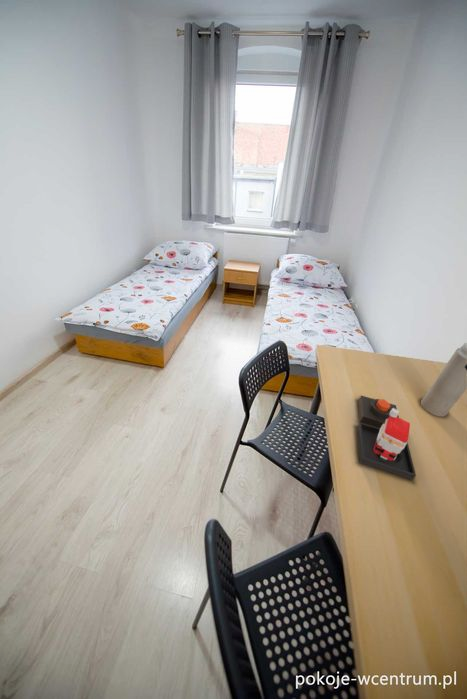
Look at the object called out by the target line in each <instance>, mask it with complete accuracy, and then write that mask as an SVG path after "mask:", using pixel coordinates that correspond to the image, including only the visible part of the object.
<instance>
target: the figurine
mask: <svg viewBox="0 0 467 699" xmlns="http://www.w3.org/2000/svg"><path fill="white" fill-rule="evenodd" d="M399 414H400V410H398V409H397V410H396V409H394V408H392V410H391V411H390V416H389V418H388V419H386V422H385V424H383V425H382V426H381V428H380V431H379V434H378V437H377V439H376V442H375V446H374V450H373V451H374V453H376V454H378V455H380V459H381V460H383V461H385V460H387V459H388V460H390V461H392V460H396V461H398V462H400V461H401V459H402V458H403V455H401V453H402V452H403V450H404V448H405V445H406V444H407V442H408V441H409V436H410V428H411V423H410V422H409V421H407V420H404V419H403V418H400V417H399V418H398V417H397V416H399ZM396 454H400V455H399V456H397V455H396Z"/></svg>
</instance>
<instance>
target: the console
mask: <svg viewBox="0 0 467 699" xmlns="http://www.w3.org/2000/svg"><path fill="white" fill-rule="evenodd" d="M378 400H380V399H379V398H372V397H368V396H365V395H360V396H359V399H358V400H357V403H358V417H359V423H364V424H367V425H370V426H374V427H377V428H381V426H382V425H383V424H385V422H386V419H388V418H389V416H390V411H391V410H392V408H394V409H396V410H398V408H397V404H394V403H390V402H388V403H389V404H390V408H389V410H388V411H387V412H384V411H381V410H379V409H378V408H377V407H376V404H377V402H378ZM397 417H398V418H400V416H399V415H398V416H397Z"/></svg>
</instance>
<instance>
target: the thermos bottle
mask: <svg viewBox="0 0 467 699" xmlns="http://www.w3.org/2000/svg"><path fill="white" fill-rule="evenodd" d="M466 364H467V342H464V344H462V345H461V346H460V347H458V348H457V349H455V351H454V352H453V354H452V355H451V357H450V358H449V360H448V361H447V362H446V364H445V365H444V367H443V369H442V370H441V372H440V373H439V374H438V376H437V377H436V379H434V380H435V381H434V382H433V383H432V385H431V386H430V387H429V389H428V391H426V393H425V395H424V396H423V397H422V399H421V402H420V404H421V406H422V408H423V409H424V411H425V410H426V411H427V412H428V413H430V414H432V415H434V416H436V417H445V416H447V415H448V413H449V412H450V411H451V409H453V407H454V406H455V404H457V402H458V401H459V400H460V398H461V397H462V396H463V395H464V392H465V391H466V390H467V370H466V369H465V365H466Z"/></svg>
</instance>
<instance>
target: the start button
mask: <svg viewBox="0 0 467 699" xmlns="http://www.w3.org/2000/svg"><path fill="white" fill-rule="evenodd" d="M389 403H390V402H389V401H387V400H386V399H380V400H378V402H377V404H376V407H377V408H378V409H379V410H381V411H384V412H387V411H388V410H389V408H390V404H391V403H390V404H389Z"/></svg>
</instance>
